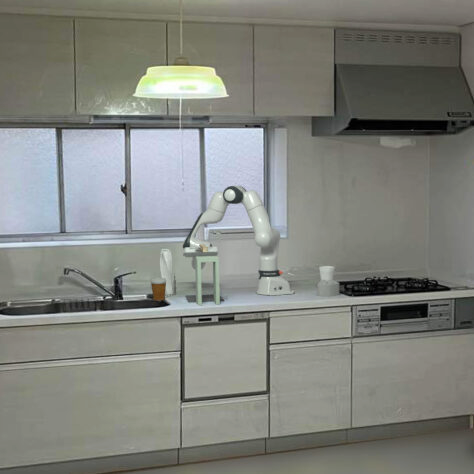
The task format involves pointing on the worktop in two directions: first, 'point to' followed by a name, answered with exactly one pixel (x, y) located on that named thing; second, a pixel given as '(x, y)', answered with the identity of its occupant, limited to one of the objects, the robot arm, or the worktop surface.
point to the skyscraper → (167, 271)
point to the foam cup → (326, 272)
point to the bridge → (215, 278)
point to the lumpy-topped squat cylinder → (328, 288)
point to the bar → (203, 248)
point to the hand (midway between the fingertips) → (202, 246)
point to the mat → (204, 298)
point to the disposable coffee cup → (158, 288)
